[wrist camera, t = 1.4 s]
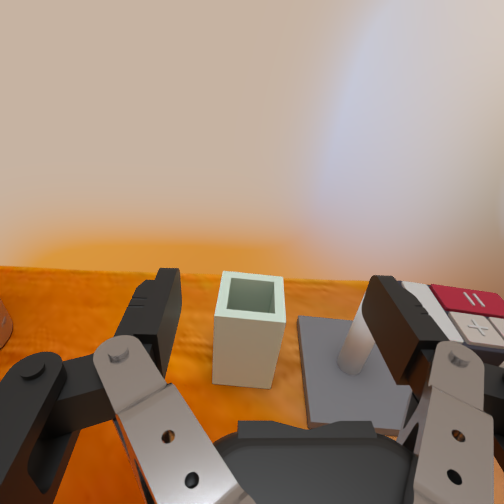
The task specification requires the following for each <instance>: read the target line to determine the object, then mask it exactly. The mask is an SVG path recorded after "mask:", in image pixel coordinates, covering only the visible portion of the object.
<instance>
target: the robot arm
mask: <svg viewBox="0 0 504 504" xmlns="http://www.w3.org/2000/svg"><path fill="white" fill-rule="evenodd" d="M181 306H182V295H181V282H180V271H179V269H178V268H160V269H159V271H158V273H157V275H156V278H155V280H145V281H144V282H143V283H142V284H140V285H139V286H138V287H137V288H136V290H135V292H134V294H133V296H132V299H131V301H130V303H129V305H128V307H127V309H126V311H125V313H124V316H123V318H122V320H121V322H120V324H119V326H118V328H117V330H116V333H115V335H114V337H113V338H110V339H108V340H106V341H105V342H103V343H102V344H101V345H100V346H99V347H98V348H97V349H96V351H95V353H93V354H90V355H87V356H84V357H79V358H75V359H71V360H67V361H63V362H62V359H61V357H60V356H59V355H58V354H56V353H53V352H40V353H36V354H32V355H30V356H27V357H25V358H24V359H22V360H20V361H19V362H17V363H16V364H15V365H13V366H12V367H11V368H10V369H9V371H8V372H7V373H6V375H5V376H4V378H3V379H2V381H1V382H0V504H53V502H54V499H55V496H56V494H57V491H58V489H59V486H60V483H61V481H62V478H63V475H64V473H65V470H66V467H67V465H68V462H69V459H70V457H71V454H72V452H73V449H74V446H75V444H76V441H77V438H78V436H79V433H80V430H81V429H83V428H86V427H90V426H93V425H96V424H99V423H102V422H106V421H109V420H112V421H113V423H114V426H115V428H116V430H117V433H118V435H119V438H120V440H121V442H122V445H123V447H124V450H125V452H126V454H127V457H128V459H129V462H130V464H131V466H132V469H133V472H134V474H135V477H136V480H137V483H138V485H139V488H140V490H141V493H142V495H143V498H144V500H145V502H146V504H494V457H495V458H496V460H497V462H498V463H499V465H500V467H501V468H502V470H503V472H504V368H502V367H498V366H494V365H490V364H486V363H483V362H482V360H481V359H480V357H479V356H478V355H477V354H476V353H474V352H473V351H472V350H471V349H469V348H467V347H466V346H464V345H462V344H459V343H456V342H452V341H450V340H449V339H448V337H447V336H446V335H445V334H444V332H443V331H442V330H441V328H440V327H439V326H438V325H437V323H436V322H435V321H434V319H433V318H432V317H431V316H430V315H429V313H428V312H427V310H426V309H425V308H424V307H423V305H422V304H421V303H420V301H419V300H418V299H417V297H416V296H415V295H413V294H412V293H411V292H409V291H408V290H406V289H405V288H401V286H400V285H399V284H398V282H397V281H396V280H395V278H394V277H393V276H380V275H374V276H372V277H371V279H370V281H369V284H368V287H367V290H366V293H365V296H364V299H363V302H362V316H363V318H364V321H365V323H366V325H367V327H368V329H369V331H370V333H371V335H372V337H373V339H374V341H375V343H376V345H377V347H378V349H379V351H380V353H381V355H382V357H383V359H384V361H385V363H386V365H387V367H388V369H389V371H390V373H391V375H392V377H393V379H394V381H395V383H396V385H410V387H411V389H412V391H411V393H410V395H409V398H408V401H407V405H406V409H405V412H404V416H403V420H402V424H401V427H400V431H399V434H398V438H397V440H396V441H395V440H393V439H391V438H389V437H387V436H384V435H382V434H379V433H376V432H375V429H374V427H373V424H372V421H337V422H334V423H330V424H327V425H323V426H320V427H317V428H313V429H310V430H305V429H301V428H297V427H293V426H290V425H286V424H282V423H278V422H274V421H238V430H237V432H234V433H231V434H228V435H226V436H224V437H222V438H220V439H219V440H217V441H215V442H214V443H213V444H212V442H211V441H210V439H209V438H208V436H207V434H206V433H205V431H204V430H203V428H202V427H201V425H200V424H199V422H198V421H197V419H196V417H195V416H194V414H193V413H192V411H191V410H190V408H189V407H188V405H187V403H186V402H185V400H184V399H183V397H182V396H181V394H180V393H179V391H178V390H177V388H176V387H175V386H174V385H173V384H172V383H169V384H167V383H166V382H165V375H166V371H167V367H168V363H169V359H170V355H171V351H172V346H173V342H174V338H175V334H176V330H177V326H178V322H179V317H180V313H181ZM12 328H13V324H12V320H11V318H10V316H9V314H8V312H7V310H6V308H5V306H4V305H3V303H2V301H1V299H0V348H1V347H2V346H3V345H4V344H5V343H6V341H7V340H8V339H9V337H10V335H11V332H12Z"/></svg>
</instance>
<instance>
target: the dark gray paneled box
mask: <svg viewBox="0 0 504 504" xmlns="http://www.w3.org/2000/svg"><path fill="white" fill-rule="evenodd" d="M397 282H398V284H399V285H400V286H401V288H405V289H406V290H408V291H409V292H411V293H412V294H413V295H415V296H416V297H417V299H418V300H419V301H420V303H421V304H422V305H423V307H424V308H425V309H426V310H427V312H428V313H429V315H430V316H431V317H432V318H433V319H434V321H435V322H436V323H437V325H438V326H439V327H440V328H441V330H442V331H443V332H444V334H445V335H446V336H447V337H448V339H449V340H450V341H452V342H456V343H459V344H462V345H464V346H466V347H467V348H469V349H471V350H472V351H473V352H474V353H476V354H477V355H478V356H479V357H480V359H481V360H482V362H483V363H486V364H490V365H494V366H498V367H499V366H500V365H501V364H502V363H503V361H504V300H502V298H501V297H500V296H499V295H498V294H496V293H491V292H484V291H477V290H470V289H463V288H456V287H449V286H442V285H435V284H431V285H426V284H421V283H414V282H407V281H397Z"/></svg>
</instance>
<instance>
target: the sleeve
mask: <svg viewBox="0 0 504 504" xmlns="http://www.w3.org/2000/svg"><path fill="white" fill-rule="evenodd" d="M285 325H286V314H285V300H284V285H283V277H279V276H269V275H259V274H249V273H239V272H229V271H223V274H222V279H221V284H220V289H219V294H218V300H217V305H216V310H215V315H214V342H213V372H212V384H220V385H231V386H241V387H252V388H263V389H271V385H272V381H273V376H274V372H275V368H276V364H277V359H278V355H279V351H280V346H281V342H282V338H283V334H284V329H285Z"/></svg>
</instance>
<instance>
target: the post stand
mask: <svg viewBox="0 0 504 504" xmlns="http://www.w3.org/2000/svg"><path fill="white" fill-rule="evenodd" d="M365 293H366V292H365ZM364 296H365V294H364ZM363 299H364V297H363ZM363 299H362V302H363ZM362 302H361V304H360V306H359V309H358V311H357V313H356V316H355V318H354V321H350V320H340V319H330V318H320V317H309V316H299V315H298V319H297V329H298V338H299V347H300V357H301V366H302V375H303V385H304V394H305V403H306V412H307V422H308V428H312V429H313V428H317V427H320V426H323V425H327V424H330V423H334V422H337V421H372V424H373V427H374V429H375V432H376V433H379V434H382V435H390V436H398V434H399V431H400V427H401V424H402V420H403V416H404V412H405V409H406V405H407V401H408V398H409V395H410V393H411V391H412V389H411V387H410V385H396V383H395V381H394V379H393V377H392V375H391V373H390V371H389V369H388V367H387V365H386V363H385V361H384V359H383V357H382V355H381V353H380V351H379V349H378V347H377V345H376V343H375V341H374V339H373V337H372V335H371V333H370V331H369V329H368V327H367V325H366V323H365V321H364V318H363V316H362Z"/></svg>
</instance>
